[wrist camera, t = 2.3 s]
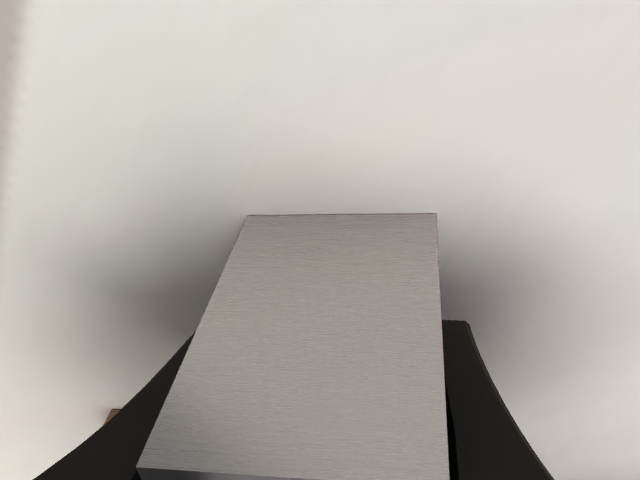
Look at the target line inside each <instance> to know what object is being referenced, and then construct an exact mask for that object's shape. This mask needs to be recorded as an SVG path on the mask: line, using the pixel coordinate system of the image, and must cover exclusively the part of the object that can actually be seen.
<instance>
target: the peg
mask: <svg viewBox="0 0 640 480" xmlns="http://www.w3.org/2000/svg"><path fill="white" fill-rule="evenodd" d="M136 469H137V471H138V473H139V475H140V477H141V479H142V480H450V479H449V459H448V439H447V419H446V399H445V379H444V359H443V340H442V320H441V300H440V280H439V260H438V240H437V220H436V214H359V215H259V216H247V218H246V220H245V222H244V224H243V227H242V229H241V231H240V233H239V236H238V238H237V240H236V242H235V245H234V247H233V249H232V251H231V254H230V256H229V258H228V260H227V263H226V265H225V267H224V269H223V272H222V274H221V276H220V278H219V281H218V283H217V285H216V287H215V290H214V292H213V294H212V296H211V299H210V301H209V303H208V305H207V308H206V310H205V312H204V314H203V317H202V319H201V321H200V323H199V326H198V328H197V330H196V333H195V335H194V337H193V339H192V342H191V344H190V346H189V348H188V351H187V353H186V355H185V357H184V360H183V362H182V364H181V366H180V369H179V371H178V373H177V375H176V378H175V380H174V382H173V384H172V387H171V389H170V391H169V393H168V396H167V398H166V400H165V402H164V405H163V407H162V409H161V411H160V414H159V416H158V418H157V420H156V423H155V425H154V427H153V429H152V432H151V434H150V436H149V438H148V441H147V443H146V445H145V447H144V450H143V452H142V454H141V456H140V459H139V461H138V463H137V465H136Z"/></svg>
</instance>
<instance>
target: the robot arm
mask: <svg viewBox="0 0 640 480" xmlns="http://www.w3.org/2000/svg"><path fill="white" fill-rule="evenodd" d="M195 333H196V331H195V332H194V333H193V335H192V336H191V337H190V338H189V339H188V340H187V341H186V342H185V344H184V345H183V346H182V347H181V348H180V349H179V350H178V351H177V353H176V354H175V355H174V356H173V357H172V358H171V359H170V360H169V361H168V362H167V363H166V365H165V366H164V367H163V368H162V369H161V370H160V371H159V372H158V373H157V374H156V375H155V376H154V377H153V378H152V379H151V381H150V382H149V383H148V384H147V385H146V386H145V387H144V388H143V389H142V390H141V391H140V392H139V393H137V394H136V395H135V396H134V397H133V398H132V399H131V400H130V401H129V402H128V403H127V404H126V405H125V406H124V407H123V408H122V409H121V410H120V411H119V412H118V413H117V414H116V415H115V416H113V417H112V418H111V419H110V420H109V421H108V422H107V423H106V424H105V425H103V426H102V427H101V428H100V429H99V430H98V431H96V432H95V433H94V434H93V435H92V436H90V437H89V438H88V439H87V440H86V441H84V442H83V443H82V444H81V445H79V446H78V447H77V448H76V449H74V450H73V451H71V452H70V453H69V454H67V455H66V456H65V457H63V458H62V459H61V460H59V461H58V462H57V463H55V464H54V465H53V466H51V467H50V468H48V469H47V470H46V471H44V472H43V473H42V474H40V475H39V476H37V477H36V478H35V479H33V480H142V479H141V477H140V475H139V473H138V471H137V469H136V465H137V463H138V461H139V459H140V456H141V454H142V452H143V450H144V447H145V445H146V443H147V441H148V438H149V436H150V434H151V432H152V429H153V427H154V425H155V423H156V420H157V418H158V416H159V414H160V411H161V409H162V407H163V405H164V402H165V400H166V398H167V396H168V393H169V391H170V389H171V387H172V384H173V382H174V380H175V378H176V375H177V373H178V371H179V369H180V366H181V364H182V362H183V360H184V357H185V355H186V353H187V351H188V348H189V346H190V344H191V342H192V339H193V337H194V335H195ZM442 340H443V359H444V379H445V399H446V419H447V439H448V459H449V479H450V480H554V479H553V477H552V476H551V475H550V473H549V472H548V471H547V469H546V468H545V466H544V465H543V464H542V462H541V461H540V459H539V458H538V457H537V455H536V454H535V452H534V451H533V449H532V448H531V446H530V445H529V443H528V442H527V440H526V439H525V437H524V435H523V434H522V432H521V431H520V429H519V427H518V426H517V424H516V422H515V421H514V419H513V418H512V416H511V414H510V412H509V411H508V409H507V407H506V405H505V404H504V402H503V400H502V398H501V396H500V394H499V393H498V391H497V389H496V387H495V385H494V383H493V381H492V379H491V377H490V375H489V373H488V371H487V369H486V367H485V365H484V362H483V360H482V358H481V356H480V353H479V351H478V348H477V346H476V343H475V341H474V338H473V335H472V332H471V328H470V325H469V324H468V323H467V322H466V321H454V320H442Z"/></svg>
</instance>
